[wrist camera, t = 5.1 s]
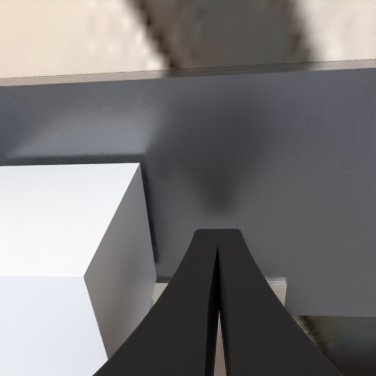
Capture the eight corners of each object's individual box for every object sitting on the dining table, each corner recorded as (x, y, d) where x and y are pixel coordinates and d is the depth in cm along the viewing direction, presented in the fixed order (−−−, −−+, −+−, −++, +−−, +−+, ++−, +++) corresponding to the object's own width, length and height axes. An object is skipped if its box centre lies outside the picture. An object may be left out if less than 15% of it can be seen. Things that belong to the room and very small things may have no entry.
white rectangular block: (139, 162, 10) (83, 276, 6) (162, 315, 14) (137, 457, 9) (-6, 166, 11) (-159, 273, 6) (51, 312, 14) (-22, 447, 10)
